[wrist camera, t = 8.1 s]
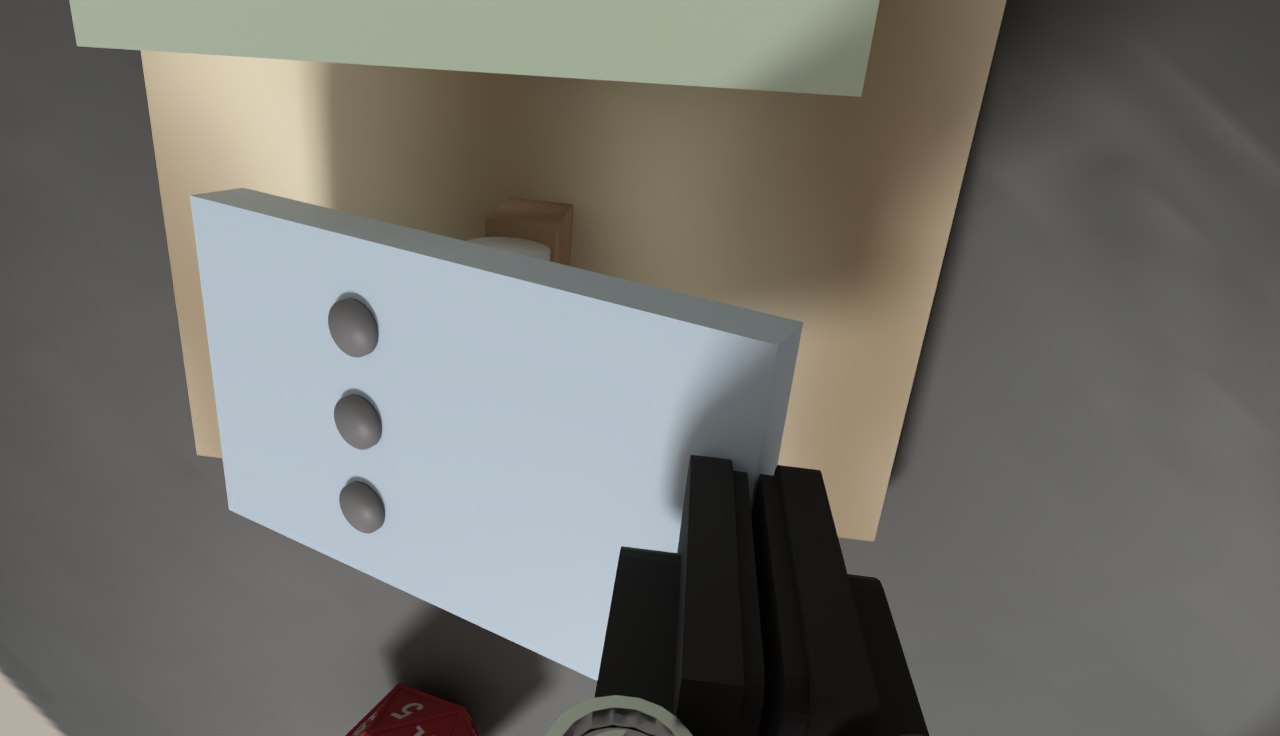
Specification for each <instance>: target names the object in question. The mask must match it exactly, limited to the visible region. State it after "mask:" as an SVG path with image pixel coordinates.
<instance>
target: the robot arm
mask: <svg viewBox="0 0 1280 736" xmlns="http://www.w3.org/2000/svg"><path fill="white" fill-rule="evenodd" d="M545 736H929V733H928V730H927V727H926V724H925V721H924V717H923V714H922V711H921V708H920V705H919V701H918V698H917V695H916V692H915V689H914V685H913V682H912V679H911V676H910V672H909V669H908V666H907V663H906V660H905V656H904V653H903V650H902V647H901V644H900V640H899V637H898V634H897V631H896V628H895V624H894V621H893V618H892V615H891V612H890V608H889V605H888V602H887V599H886V596H885V592H884V589H883V587H882V585H881V583H880V581H879V580H878V579H877V578H874V577H866V576H858V575H850V574H847V571H846V567H845V563H844V559H843V555H842V551H841V547H840V544H839V540H838V536H837V532H836V528H835V524H834V520H833V516H832V512H831V508H830V504H829V500H828V496H827V492H826V488H825V484H824V480H823V477H822V473H821V471H820V470H815V469H807V468H798V467H790V466H782V465H777V467H776V469H775V472H774V476H773V475H765V474H760V475H759V478H758V482H757V488H756V494H755V500H754V505H753V511H752V517H751V507H750V495H749V484H748V474H747V472H739V471H733V463H732V460H731V459H723V458H714V457H706V456H698V455H690V461H689V467H688V475H687V482H686V490H685V497H684V505H683V513H682V520H681V528H680V535H679V543H678V551H677V553H672V552H664V551H656V550H648V549H640V548H632V547H624V546H621V549H620V554H619V560H618V565H617V571H616V577H615V583H614V589H613V594H612V600H611V606H610V612H609V617H608V623H607V629H606V635H605V641H604V646H603V652H602V658H601V664H600V670H599V675H598V681H597V687H596V693H595V698H592V699H589V700H587V701H584V702H582V703H579V704H576V705H574V706H572V707H571V708H569V709H568V710H567V711H566V712H564V713H563V714H562V715H560V716H559V717H558V718H557V719H555V721H554V722H553V724H552V725H551V727H550V728H549V730H548V731H547V733H546V734H545Z"/></svg>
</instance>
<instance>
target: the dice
mask: <svg viewBox="0 0 1280 736" xmlns="http://www.w3.org/2000/svg"><path fill="white" fill-rule="evenodd" d="M346 736H479V734H478V731H477V728H476V726H475V723H474V720H473V719H472V718H471V716H470V715H469V713H468V712H467V710H466V709H465V707H463V706H459V705H457V704H454V703H451V702H449V701H446V700H443V699H440V698H438V697H435V696H432V695H429V694H427V693H424V692H421V691H418V690H416V689H413V688H410V687H408V686H405V685H402V684H400V683H398V684H397V685H396V686H395V687H394V688H393V689H392V690H391V691H390V692H389V693H388V694H387V695H386V696H385V697H384V698H383V699H382V700H381V701H380V702H379V703H378V704H377V705H376V706H375V707H374V708H373V709H372V710H371V711H370V712H369V713H368V714H367V715H366V716H365V717H364V718H363V719H362V720H361V721H360V722H359V723H358V724H357V725H356V726H355V727H354V728H353V729H352V730H351V731H350V732H349V733H348V734H347V735H346Z"/></svg>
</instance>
